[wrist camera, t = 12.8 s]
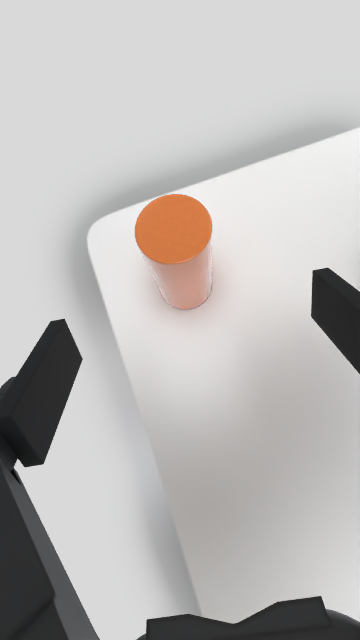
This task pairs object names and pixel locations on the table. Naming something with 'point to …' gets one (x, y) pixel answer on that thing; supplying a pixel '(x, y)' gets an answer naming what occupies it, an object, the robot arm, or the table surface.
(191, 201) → the canister
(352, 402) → the table surface
